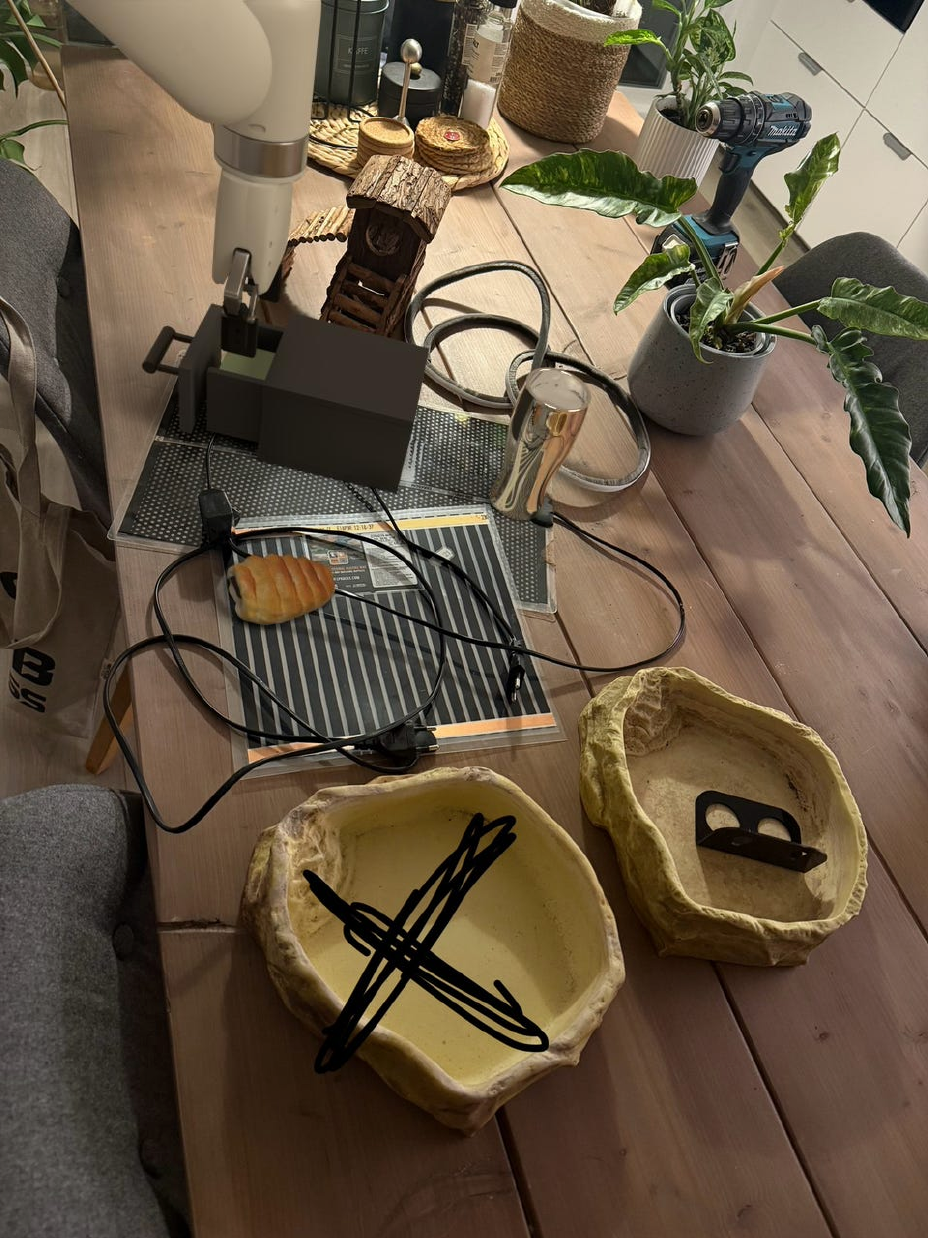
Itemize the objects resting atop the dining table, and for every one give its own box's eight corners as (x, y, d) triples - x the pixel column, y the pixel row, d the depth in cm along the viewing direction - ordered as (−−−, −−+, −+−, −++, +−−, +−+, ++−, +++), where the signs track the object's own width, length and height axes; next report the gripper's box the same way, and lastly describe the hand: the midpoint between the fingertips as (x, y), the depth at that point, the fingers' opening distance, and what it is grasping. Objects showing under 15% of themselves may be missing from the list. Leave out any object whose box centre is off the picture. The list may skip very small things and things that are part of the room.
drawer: (135, 420, 88) (131, 355, 82) (170, 356, 95) (169, 291, 90) (311, 462, 90) (319, 401, 84) (332, 396, 98) (341, 336, 92)
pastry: (320, 560, 83) (324, 533, 81) (344, 615, 80) (349, 588, 77) (221, 577, 79) (222, 549, 77) (241, 635, 76) (243, 608, 73)
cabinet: (257, 460, 90) (262, 383, 83) (284, 387, 98) (291, 312, 91) (397, 493, 92) (414, 421, 84) (412, 419, 100) (429, 348, 92)
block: (217, 410, 90) (218, 370, 86) (229, 381, 93) (231, 341, 90) (265, 422, 91) (268, 382, 87) (276, 393, 94) (280, 354, 90)
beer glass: (493, 524, 92) (535, 411, 81) (477, 478, 96) (515, 363, 85) (554, 523, 94) (603, 413, 83) (536, 478, 98) (580, 367, 87)
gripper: (242, 91, 77) (235, 269, 90) (184, 176, 66) (186, 366, 79) (326, 115, 78) (308, 288, 91) (283, 204, 67) (269, 386, 80)
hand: (251, 324), depth 85 cm, fingers open, 9 cm apart
